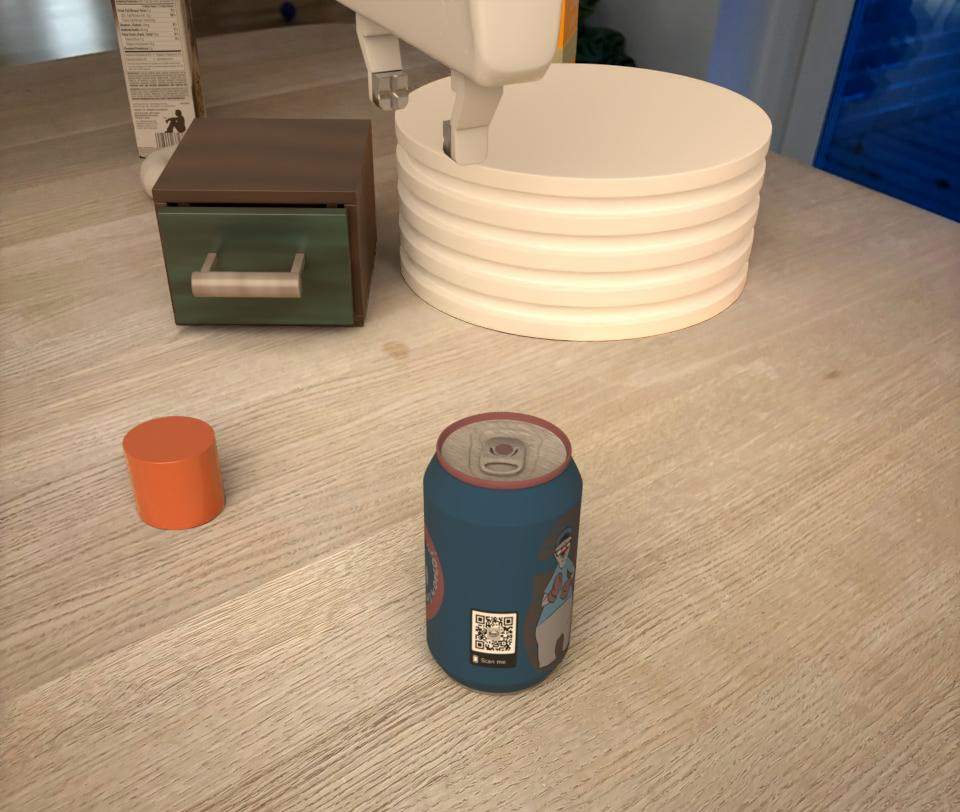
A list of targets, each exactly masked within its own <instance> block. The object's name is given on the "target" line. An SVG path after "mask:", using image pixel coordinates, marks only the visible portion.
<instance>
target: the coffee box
mask: <svg viewBox="0 0 960 812" xmlns="http://www.w3.org/2000/svg"><path fill="white" fill-rule="evenodd" d="M110 4H111V9H112V15H113V21H114V27H115V32H116V36H117V37H116V38H117V42H118V49H119V54H120V59H121V64H122V65H121V66H122V71H123V76H124V81H125V86H126V93H127V98H128V104H129V110H130V115H131V121H132V127H133V131H134V132H133V133H134V137H135V143H136V147H143V148H144V147H154V148H156V147H159V148H160V147H161V148H164V147H168V146H172V145H176V144H179V143H180V141H181V139H182V138H183V136H184V134H185V133H186V131H187V129H188V128H189V126H190V124H191V123H192V121H193V119H194V118H208V113H207V106H206V99H205V93H204V86H203V79H202V71H201V64H200V57H199V51H198V43H197V37H196V30H195V29H196V28H195V22H194V15H193V9H192V1H191V0H110Z"/></svg>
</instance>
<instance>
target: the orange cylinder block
mask: <svg viewBox="0 0 960 812" xmlns="http://www.w3.org/2000/svg"><path fill="white" fill-rule="evenodd" d="M121 447H122V451H123V455H124V460H125V465H126V468H127V472H128V477H129V481H130V486H131V489H132V490H131V491H132V495H133V500H134V504H135V508H136V512H137V515H138V517H139V518H140V520H141V521H142V522H144V523H145V524H146V525H148V526H151V527H154V528H157V529H161V530H169V531H171V530H173V531H174V530H175V531H177V530H186V529H192V528H195V527H198V526H202V525H204V524H206V523H208V522H210V521H212V520H214V519H215V518H216V517H217V516H219V515H220V513H222V511H223V509H224V508H225V505H226V493H225V488H224V482H223V476H222V470H221V464H220V457H219V451H218V444H217V439H216V433H215V431H214V429H213V427H212V425H210V424H209V423H207V422H206V421H204V420H202V419H200V418H196V417H193V416H185V415H168V416H161V417H157V418H152V419H149V420H145V421H144V422H142V423H138V424H137V425H136V426H134V427H132V428H131V429H129V431H128V432H126V434H125V435H124V437H123V439H122V443H121Z"/></svg>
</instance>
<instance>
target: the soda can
mask: <svg viewBox="0 0 960 812" xmlns="http://www.w3.org/2000/svg"><path fill="white" fill-rule="evenodd" d="M571 443H572V442H571V441H570V438H569V437H568V436H567V434H566V433H565V432H564V431H563V430H562V429H561V428H560V427H558V426H557V425H556V424H554V423H552V422H551V421H548V420H546V419H543V418H541V417H539V416H535V415H531V414H526V413H521V412H514V411H513V412H512V411H489V412H483V413H476V414H472V415H469V416H466V417H463V418H461V419H458V420H456V421H454V422H453V423H451V424H449V425H448V426H447V427H445V428H444V429H443V430H442V431H441V433H440V434H439V436H438V438H437V441H436V445H435V446H436V447H435V448H436V449H435V452H434V454H433V456H432V458H431V459H430V460H429V463H428V464H427V467H426V469H425V471H424V474H423V478H422V491H423V492H422V494H423V495H422V498H423V535H424V536H423V538H424V539H423V541H424V542H423V544H424V581H425V582H424V584H425V585H424V587H425V591H424V592H425V630H426V631H425V632H426V634H425V635H426V637H425V638H426V644H427V647H428V650H429V652H430V654H431V656H432V658H433V659H434V661H435V662H436V663H437V665H438V666H439V667H440V668H441V669H442V670H443V672H444V673H445V674H447V676H448V677H449V678H450V679H451V680H452V681H454V682H455V683H456V684H457V685H459V686H461V687H463V688H464V689H466V690H469V691H472V692H474V693H476V694H477V693H478V694H481V695H486V696H487V695H488V696H509V695H510V696H512V695H516V694H521V693H523V692H526V691H529V690H532V689H533V688H535V687H537V686H538V685H539V684H541V683H542V682H543V681H545V679H547V678H548V677H549V676H550V675H551V674H552V673H553V672H554V671H555V670H556V669H557V668H558V667H559V666H560V664H561V663H562V662H563V660H564V659H565V657H566V656H567V653H568V650H569V648H570V643H571V630H572V619H573V607H574V594H575V586H576V585H575V584H576V583H575V582H576V573H577V559H578V548H579V538H580V537H579V536H580V526H581V525H580V523H581V513H582V512H581V511H582V501H583V500H582V499H583V488H584V482H583V477H582V474H581V472H580V470H579V467H578V466H577V464H576V461H575V460H574V458H573V456H572V454H573V453H572V452H573V448H572V444H571Z"/></svg>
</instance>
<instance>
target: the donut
mask: <svg viewBox="0 0 960 812" xmlns="http://www.w3.org/2000/svg"><path fill="white" fill-rule="evenodd" d="M177 146H178V144H176V145H172V146H168V147H164V148H162V149H160V150H158V151H155V152H153V153H152V154H150V155H149V156H148V157H145V158H144V160H143V161H142V162H141V166H140V172H139V182H140V185H141V187H142V188H143V190H144V191H145V192H146V193H147V195H148V196H149V197H151V199H153V196H152V188H153V186H154V184H155V183H156V181H157V179H158V178H159V176H160V174H161V173H162V171H163V169H164V168H165V166H166V164H167V163H168V161H169V159H170V158H171V156H172V154H173V153H174V151H175V149H176V148H177Z"/></svg>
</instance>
